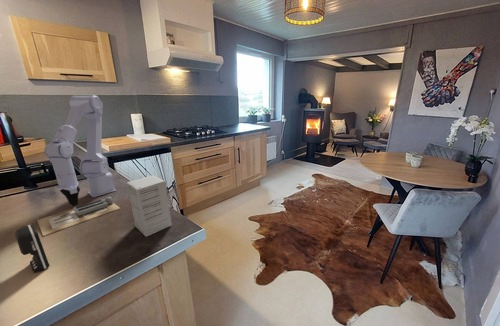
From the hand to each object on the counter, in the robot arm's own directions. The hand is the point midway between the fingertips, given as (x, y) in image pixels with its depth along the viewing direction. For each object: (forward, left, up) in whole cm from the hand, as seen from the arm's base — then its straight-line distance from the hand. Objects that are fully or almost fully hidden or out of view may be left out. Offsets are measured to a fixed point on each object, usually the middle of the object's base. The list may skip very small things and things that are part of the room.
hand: (74, 204), depth 86 cm
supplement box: (-15, +36, -2) cm, 39 cm away
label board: (0, +7, -2) cm, 8 cm away
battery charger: (+14, +30, -2) cm, 34 cm away
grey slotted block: (-5, +7, -1) cm, 9 cm away
